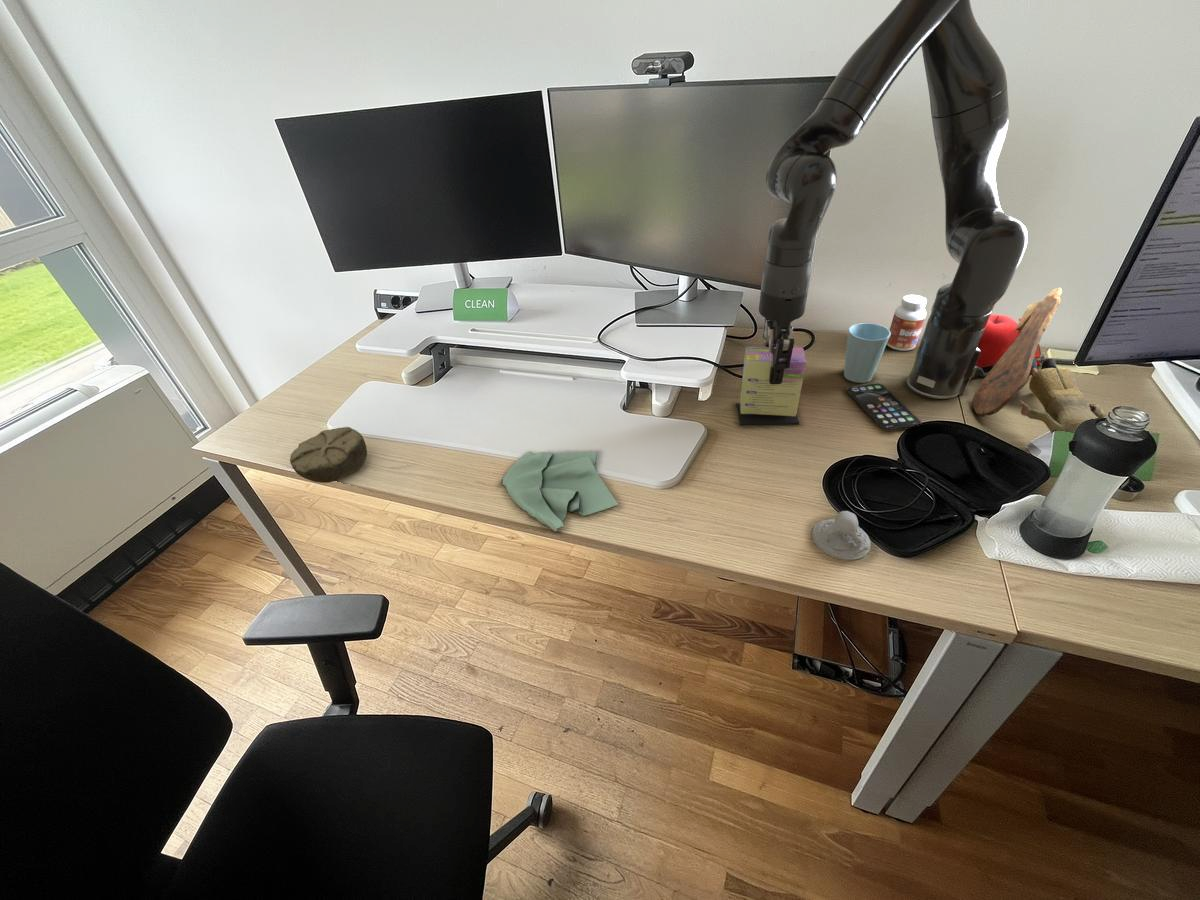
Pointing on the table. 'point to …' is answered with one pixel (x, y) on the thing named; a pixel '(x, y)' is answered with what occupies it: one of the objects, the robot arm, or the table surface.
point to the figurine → (1059, 399)
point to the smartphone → (883, 407)
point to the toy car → (1037, 353)
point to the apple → (996, 339)
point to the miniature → (842, 537)
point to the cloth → (557, 486)
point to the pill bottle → (907, 323)
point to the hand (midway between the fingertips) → (772, 373)
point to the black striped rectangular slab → (765, 419)
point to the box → (767, 396)
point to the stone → (329, 455)
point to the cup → (864, 350)
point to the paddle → (1016, 358)
